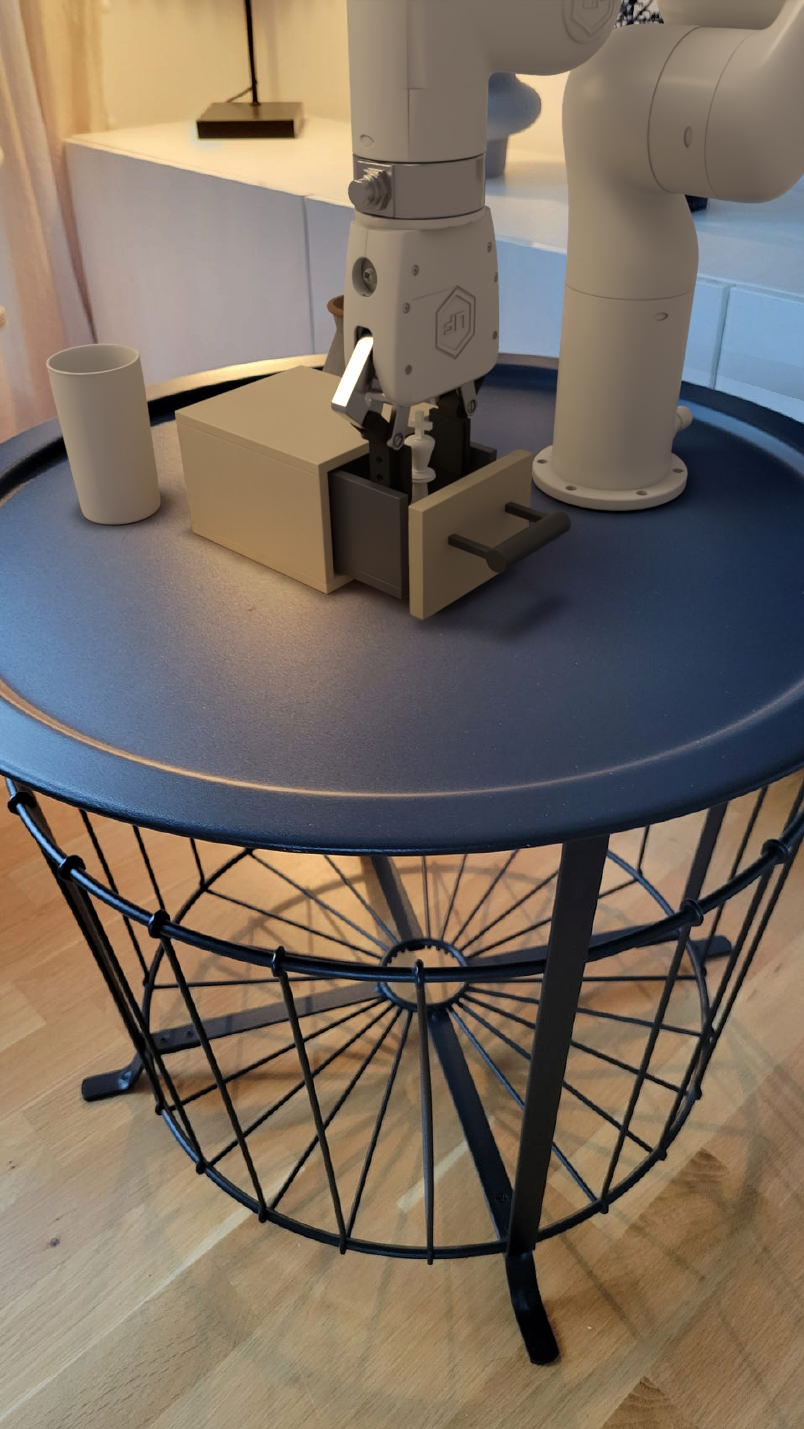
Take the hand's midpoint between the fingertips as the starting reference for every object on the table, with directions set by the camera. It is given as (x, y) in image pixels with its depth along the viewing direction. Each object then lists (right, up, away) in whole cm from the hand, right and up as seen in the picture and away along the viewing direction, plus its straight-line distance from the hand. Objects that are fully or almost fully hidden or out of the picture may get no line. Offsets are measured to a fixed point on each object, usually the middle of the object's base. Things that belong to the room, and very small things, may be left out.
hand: (420, 481), depth 71 cm
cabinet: (-8, -2, +10) cm, 13 cm away
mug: (-24, +2, +15) cm, 28 cm away
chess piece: (0, -4, +3) cm, 5 cm away
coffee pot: (-4, +10, +25) cm, 28 cm away
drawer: (+1, -5, +3) cm, 6 cm away
